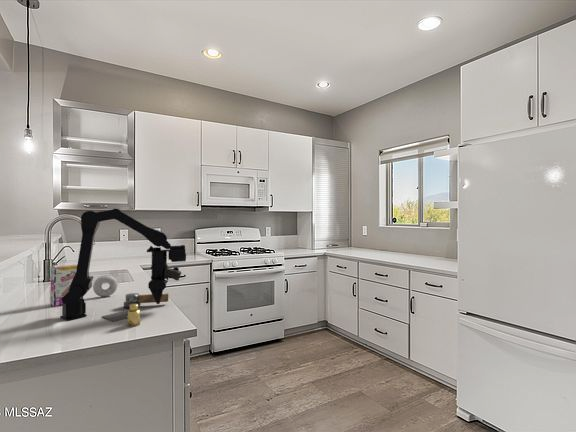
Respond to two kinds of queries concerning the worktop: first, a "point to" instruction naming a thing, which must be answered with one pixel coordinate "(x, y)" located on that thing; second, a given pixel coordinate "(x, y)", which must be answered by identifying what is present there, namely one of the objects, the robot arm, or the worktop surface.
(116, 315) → the rubber mat
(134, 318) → the brass calibration weight
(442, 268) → the worktop surface
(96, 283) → the donut
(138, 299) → the hammer
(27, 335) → the worktop surface
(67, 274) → the candy bar box
